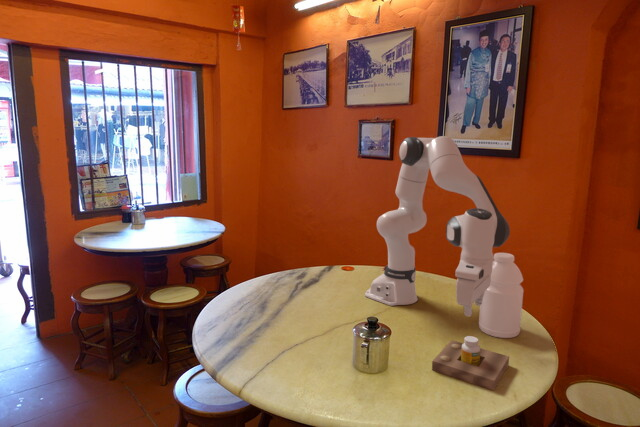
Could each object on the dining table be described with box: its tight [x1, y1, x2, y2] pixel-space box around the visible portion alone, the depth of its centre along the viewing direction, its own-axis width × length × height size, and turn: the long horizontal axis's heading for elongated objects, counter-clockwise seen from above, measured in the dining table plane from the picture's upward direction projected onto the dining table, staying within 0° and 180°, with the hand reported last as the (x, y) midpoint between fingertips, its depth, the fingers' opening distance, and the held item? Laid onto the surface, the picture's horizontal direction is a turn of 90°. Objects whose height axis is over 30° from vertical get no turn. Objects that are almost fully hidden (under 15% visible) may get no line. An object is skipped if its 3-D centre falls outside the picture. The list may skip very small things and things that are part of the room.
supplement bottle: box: [461, 335, 481, 367], centre depth 132 cm, size 5×5×10 cm
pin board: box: [431, 339, 510, 391], centre depth 133 cm, size 18×16×3 cm
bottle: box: [478, 252, 525, 339], centre depth 155 cm, size 14×14×28 cm
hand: (473, 309), depth 130 cm, fingers open, 8 cm apart
